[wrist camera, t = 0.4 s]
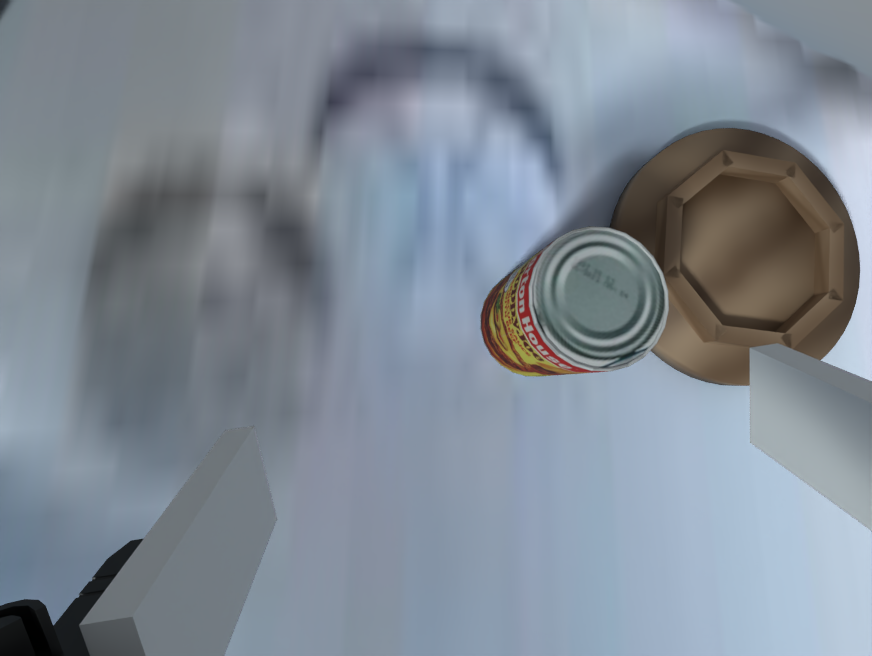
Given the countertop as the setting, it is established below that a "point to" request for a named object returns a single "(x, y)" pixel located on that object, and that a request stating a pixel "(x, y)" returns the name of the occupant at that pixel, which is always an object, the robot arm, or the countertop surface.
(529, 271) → the canned food
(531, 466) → the countertop surface
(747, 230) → the hub trivet
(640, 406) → the countertop surface
